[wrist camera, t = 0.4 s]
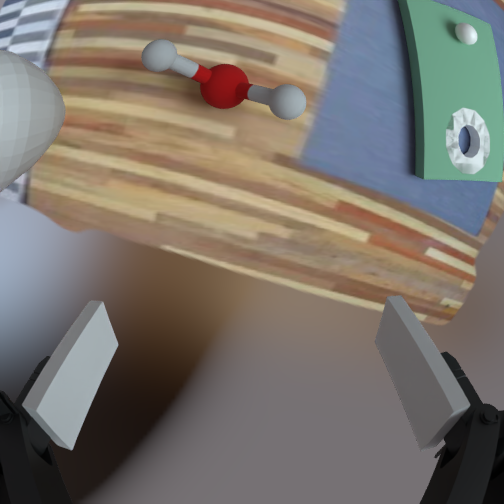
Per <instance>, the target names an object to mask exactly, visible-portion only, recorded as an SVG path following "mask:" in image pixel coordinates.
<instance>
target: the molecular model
mask: <svg viewBox="0 0 504 504" xmlns="http://www.w3.org/2000/svg"><path fill="white" fill-rule="evenodd" d="M141 58H142V63H143V65H144V66H145V67H146V68H147V69H149V70H151V71H154V72H160V71H164V70H166V69H171V70H173V71H175V72H178V73H180V74H182V75H184V76H187V77H189V78H191V79H193V80H195V81H197V82H200V83H201V84H200V90H201V94H202V96H203V98H204V100H205V101H206V102H207V103H208V104H210V105H211V106H213V107H216V108H219V109H228V108H232V107H235V106H237V105H238V104H240V103H241V102H242V101H243V100H244V99H247V100H251V101H255V102H258V103H262V104H265V105H269V107H270V109H271V111H272V112H273V114H274V115H276V116H277V117H279V118H281V119H285V120H291V119H295V118H297V117H299V116H300V115H301V114H302V113H303V112H304V110H305V107H306V98H305V95H304V93H303V92H302V91H301V90H300V89H299V88H298V87H296V86H294V85H289V84H284V85H280V86H278V87H276V88H275V89H270V88H266V87H262V86H257V85H253V84H249V82H248V79H247V76H246V75H245V73H244V72H243V71H242V70H241V69H240V68H238V67H236V66H234V65H230V64H221V65H217V66H214V67H212V68H211V69H207V68H205V67H203V66H201V65H199V64H197V63H195V62H193V61H191V60H189V59H187V58H185V57H182V56H180V55H178V54H177V50H176V47H175V46H174V44H173V43H171V42H170V41H168V40H163V39H159V40H155V41H152V42H151V43H149V44H148V45H147V46H146V47H145V48H144V50H143V52H142V57H141Z"/></svg>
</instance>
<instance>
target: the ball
mask: <svg viewBox="0 0 504 504" xmlns="http://www.w3.org/2000/svg"><path fill="white" fill-rule="evenodd" d="M455 33H456V36H457V38H458V39H459V40H460V41H461V42H462V43H464V44H467V45H472V44H474V43H475V42H476V41H477V33H476V31H475V29H474V28H473V27H472V26H471V25H469V24H467V23H459V24H457V25H456V27H455Z"/></svg>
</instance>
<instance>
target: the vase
mask: <svg viewBox="0 0 504 504" xmlns="http://www.w3.org/2000/svg"><path fill="white" fill-rule="evenodd" d="M64 119H65V105H64V102H63V98H62V95H61V93H60V91H59V89H58V88H57V86H56V85H55V84H54V82H53V81H52V80H51V79H50V78H49V76H48V75H47V74H46V73H45V72H44V71H43V70H42V69H40V68H39V67H38V66H36V65H35V64H33V63H31V62H30V61H28V60H26V59H24V58H22V57H20V56H19V55H17V54H15V53H13V52H10V51H4V50H0V192H1V191H2V190H4V189H5V188H6V187H7V186H9V185H10V184H11V183H12V182H14V181H15V180H16V179H17V178H18V177H20V176H21V175H22V174H23V173H25V172H26V171H27V170H29V169H30V168H31V167H32V166H33V165H34V164H35V163H36V162H37V161H38V160H39V158H40V157H41V156H42V155H43V154H44V153H45V151H46V150H47V149H48V148H49V146H50V145H51V144H52V143H53V141H54V140H55V138H56V137H57V135H58V133H59V131H60V129H61V127H62V125H63V122H64Z"/></svg>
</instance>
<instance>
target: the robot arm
mask: <svg viewBox="0 0 504 504" xmlns="http://www.w3.org/2000/svg"><path fill="white" fill-rule="evenodd" d="M375 343H376V345H377V348H378V350H379V352H380V354H381V356H382V358H383V361H384V363H385V365H386V367H387V370H388V372H389V374H390V377H391V379H392V381H393V383H394V386H395V388H396V390H397V393H398V395H399V397H400V400H401V402H402V405H403V407H404V410H405V412H406V415H407V417H408V420H409V422H410V425H411V427H412V430H413V433H414V435H415V437H416V441H417V443H418V446H419V448H420V451H424V450H426V449H429V448H432V447H435V446H437V445H438V444H439V443H440V442H441V440H442V439H443V438H444V441H445V443H446V444H445V445H444V446H443V447H442V448H441V449H440V451H438V452H437V454H436V455H435V458H437V457H438V456H439V455H440V454H441V455H440V457H439V460H438V463H437V465H436V468H435V470H434V473H433V475H432V478H431V480H430V483H429V485H428V487H427V489H426V491H425V493H424V496H423V498H422V500H421V502H420V504H504V410H503V411H498V410H497V409H496V408H495V407H494V406H492V405H490V404H483V403H482V401H481V400H480V398H479V396H478V395H477V393H476V391H475V390H474V388H473V386H472V384H471V383H470V381H469V379H468V378H467V377H466V375H465V373H464V371H463V370H461V367H460V365H459V363H458V362H457V360H456V359H455V358H454V357H453V356H451V355H450V354H449V353H448V352H444V353H440V352H439V351H438V349H437V347H436V346H435V344H434V343H433V341H432V340H431V338H430V337H429V335H428V334H427V332H426V331H425V329H424V328H423V326H422V325H421V323H420V322H419V320H418V319H417V317H416V316H415V315H414V313H413V312H412V310H411V309H410V307H409V306H408V305H407V303H406V302H405V300H404V299H403V298H402V296H390V297H387V299H386V303H385V307H384V311H383V315H382V318H381V322H380V325H379V329H378V332H377V336H376V339H375ZM117 346H118V342H117V340H116V337H115V334H114V332H113V329H112V326H111V324H110V321H109V318H108V315H107V312H106V309H105V306H104V303H103V301H89V303H88V304H87V305H86V307H85V308H84V309H83V311H82V312H81V314H80V315H79V317H78V318H77V319H76V321H75V322H74V324H73V325H72V326H71V328H70V329H69V330H68V332H67V333H66V335H65V336H64V338H63V339H62V341H61V342H60V344H59V345H58V347H57V348H56V350H55V352H54V353H53V354H52V356H51V357H49V356H47V357H46V358H45V359H43V360H42V361H41V362H40V363H39V364H38V366H37V367H36V369H35V370H34V373H33V374H32V375H31V377H30V380H28V382H27V383H26V385H25V386H24V388H23V390H22V391H21V393H20V395H19V397H18V398H17V400H16V402H15V403H14V404H13V402H12V401H11V400H10V398H9V397H8V396H7V395H6V394H5V392H3V391H0V504H73V503H72V500H71V498H70V496H69V493H68V491H67V489H66V486H65V484H64V481H63V479H62V476H61V473H60V471H59V468H58V465H57V462H56V459H55V456H54V453H53V450H52V447H51V445H50V444H49V441H50V438H51V439H52V440H53V441H54V442H55V443H56V444H57V445H59V446H61V447H64V448H67V449H69V450H72V449H73V447H74V444H75V441H76V439H77V436H78V433H79V431H80V429H81V426H82V423H83V421H84V419H85V417H86V414H87V412H88V410H89V407H90V405H91V402H92V400H93V398H94V396H95V393H96V391H97V389H98V387H99V385H100V382H101V380H102V378H103V376H104V374H105V371H106V369H107V367H108V365H109V363H110V361H111V359H112V357H113V355H114V353H115V351H116V348H117Z"/></svg>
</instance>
